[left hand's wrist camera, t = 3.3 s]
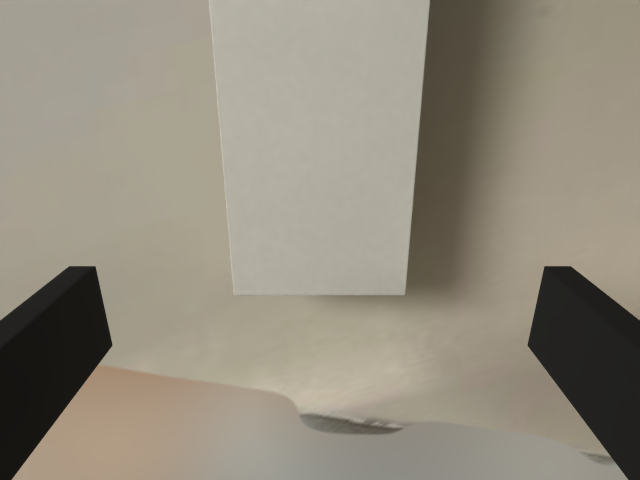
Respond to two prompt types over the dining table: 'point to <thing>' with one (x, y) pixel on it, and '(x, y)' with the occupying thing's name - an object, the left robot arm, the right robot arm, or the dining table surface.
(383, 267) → the wide beam
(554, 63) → the dining table surface
